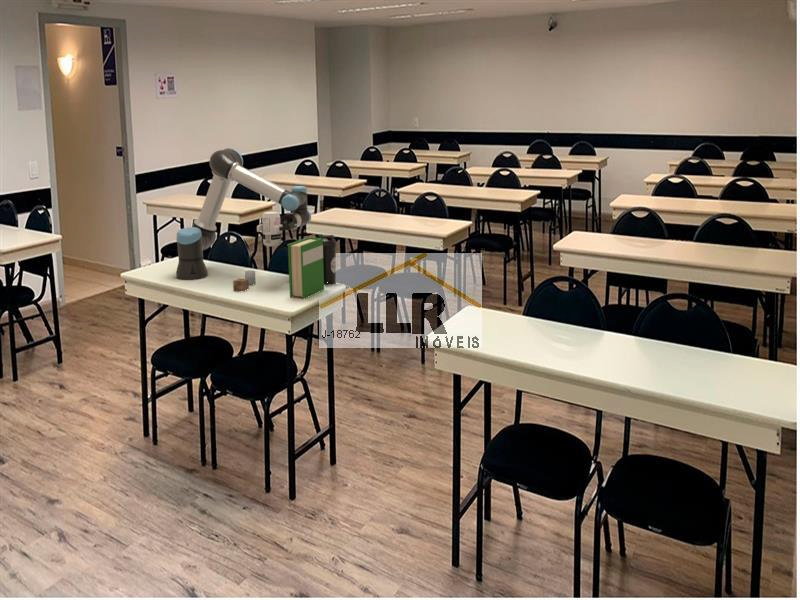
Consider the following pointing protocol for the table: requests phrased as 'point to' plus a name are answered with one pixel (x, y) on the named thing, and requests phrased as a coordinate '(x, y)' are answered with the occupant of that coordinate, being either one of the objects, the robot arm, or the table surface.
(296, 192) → the robot arm
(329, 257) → the water bottle
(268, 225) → the supplement can
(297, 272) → the hardback book
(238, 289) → the walnut block
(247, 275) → the grey plastic tub
